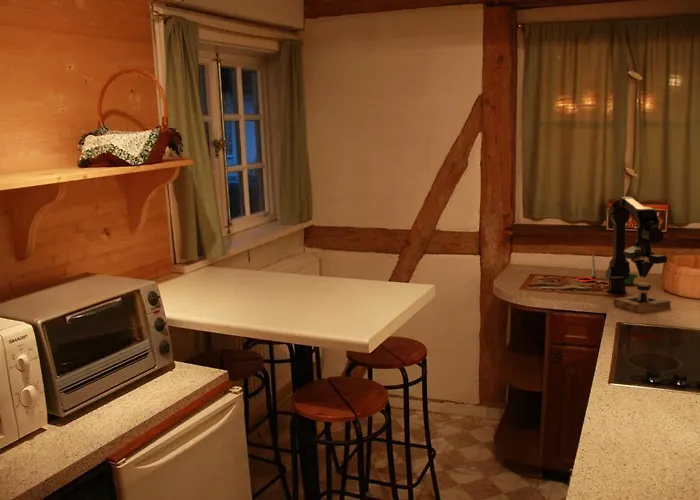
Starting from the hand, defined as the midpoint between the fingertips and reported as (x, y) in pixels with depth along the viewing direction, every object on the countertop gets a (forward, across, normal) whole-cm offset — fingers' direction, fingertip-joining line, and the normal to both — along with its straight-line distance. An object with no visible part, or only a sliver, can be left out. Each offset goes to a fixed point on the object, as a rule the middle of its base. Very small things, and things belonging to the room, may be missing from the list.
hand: (642, 277), depth 270 cm
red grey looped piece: (+13, -49, +15) cm, 53 cm away
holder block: (+12, 0, 0) cm, 12 cm away
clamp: (+13, -36, +27) cm, 47 cm away
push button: (+13, 0, 0) cm, 13 cm away
